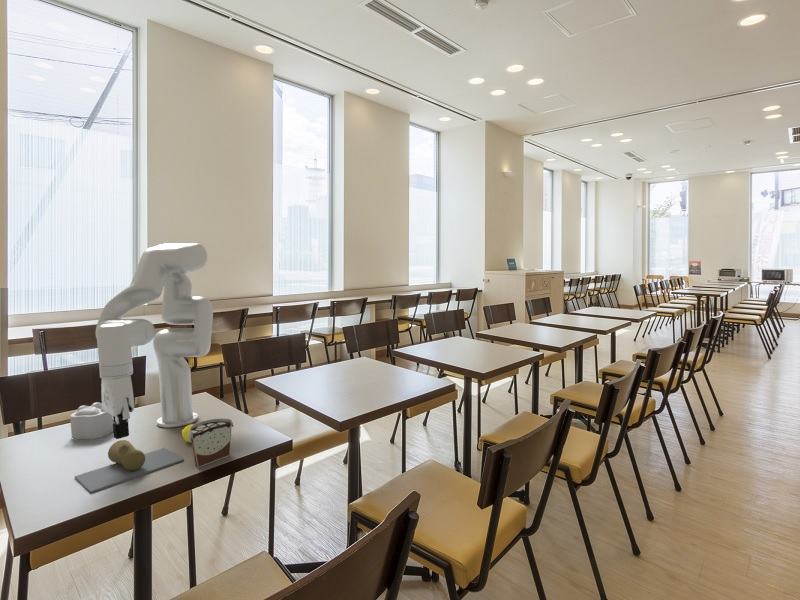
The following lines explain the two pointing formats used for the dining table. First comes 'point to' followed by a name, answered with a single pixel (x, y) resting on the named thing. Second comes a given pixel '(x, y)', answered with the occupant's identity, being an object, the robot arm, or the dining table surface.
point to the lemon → (186, 432)
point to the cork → (126, 455)
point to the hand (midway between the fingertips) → (121, 436)
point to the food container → (210, 440)
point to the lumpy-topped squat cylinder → (90, 422)
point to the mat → (126, 471)
